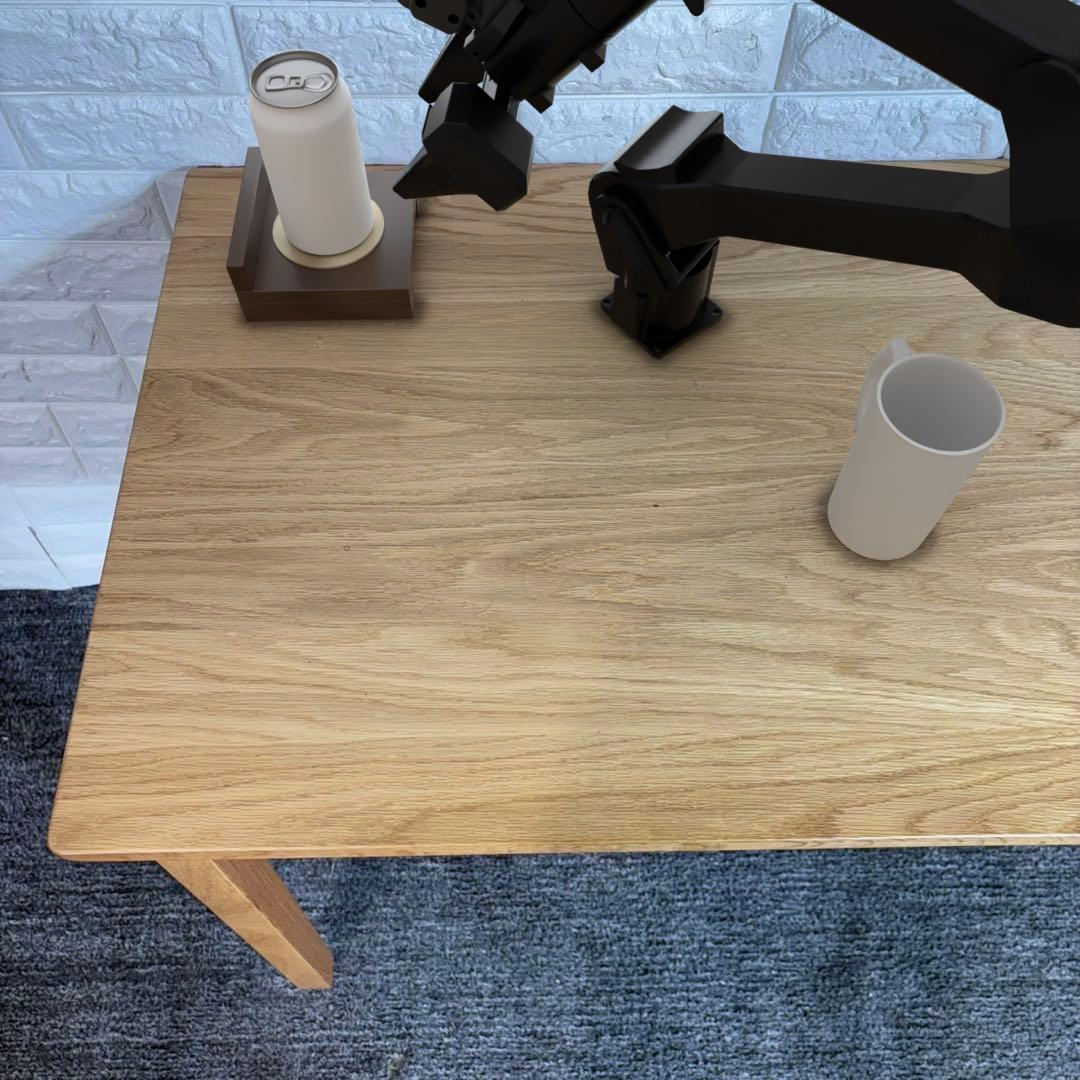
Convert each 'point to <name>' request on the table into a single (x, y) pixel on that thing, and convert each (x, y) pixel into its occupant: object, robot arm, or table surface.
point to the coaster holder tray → (321, 258)
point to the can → (311, 151)
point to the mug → (911, 448)
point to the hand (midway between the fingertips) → (411, 143)
